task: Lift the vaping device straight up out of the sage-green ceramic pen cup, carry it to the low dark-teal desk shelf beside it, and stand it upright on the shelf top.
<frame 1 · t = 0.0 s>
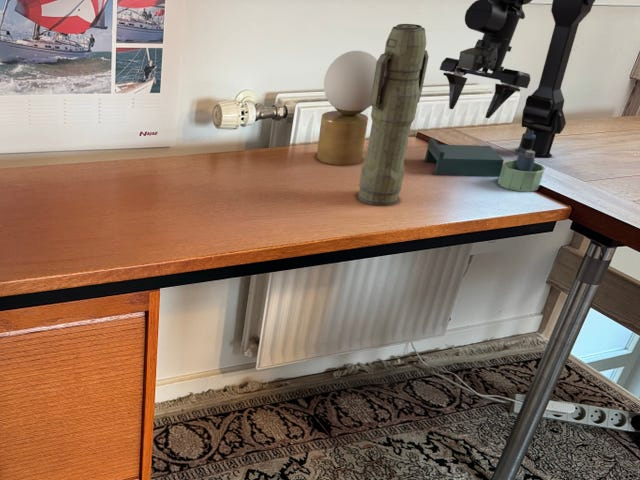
hand: (468, 113, 155), 15 cm above the table, tool pointing down, fingers open, 9 cm apart
vaping device: (517, 185, 161), resting in pen cup
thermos: (377, 199, 155), on the table
pen cup: (518, 184, 161), on the table
lamp: (341, 157, 179), on the table
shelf: (461, 168, 171), on the table
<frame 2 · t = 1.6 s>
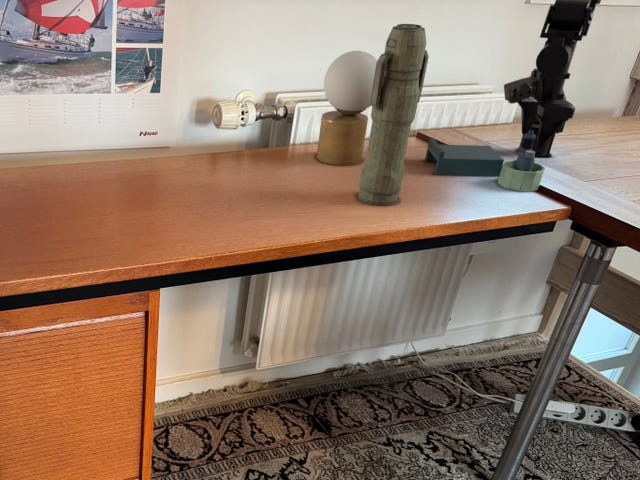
hand: (531, 140, 156), 10 cm above the table, tool pointing down, fingers open, 9 cm apart
nothing on the table moved.
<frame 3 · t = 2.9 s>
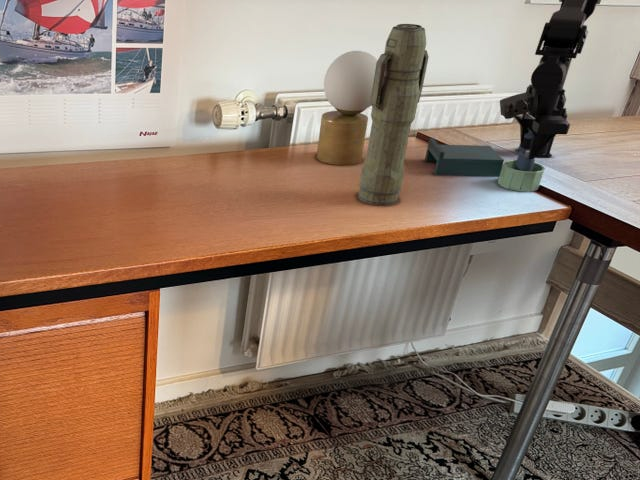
hand: (527, 154, 157), 7 cm above the table, tool pointing down, fingers closed on vaping device, 5 cm apart
vaping device: (517, 185, 161), resting in pen cup, touching gripper
everything else where it was.
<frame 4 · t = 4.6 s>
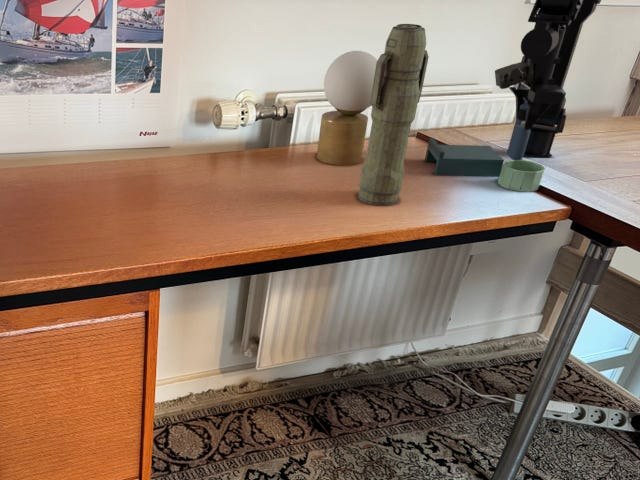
hand: (522, 125, 156), 13 cm above the table, tool pointing down, fingers closed on vaping device, 5 cm apart
vaping device: (513, 157, 160), point 6 cm above the table, touching gripper
everything else where it was.
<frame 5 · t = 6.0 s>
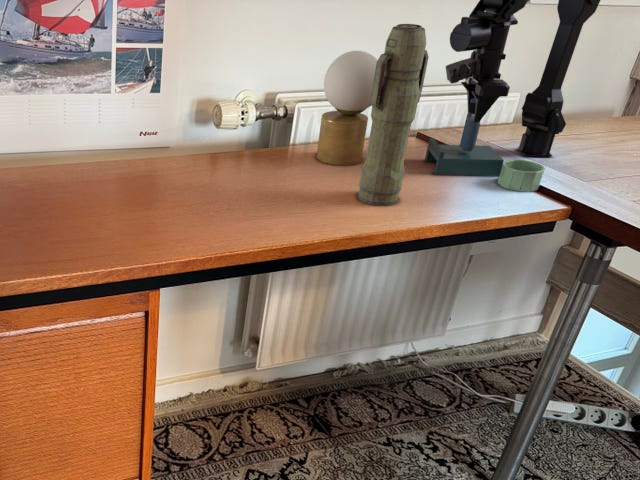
hand: (473, 118, 164), 12 cm above the table, tool pointing down, fingers closed on vaping device, 5 cm apart
vaping device: (466, 149, 168), point 5 cm above the table, touching gripper
everything else where it was.
when the fingers open (11 cm above the table, at t = 6.7 s): vaping device stays where it is, resting on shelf.
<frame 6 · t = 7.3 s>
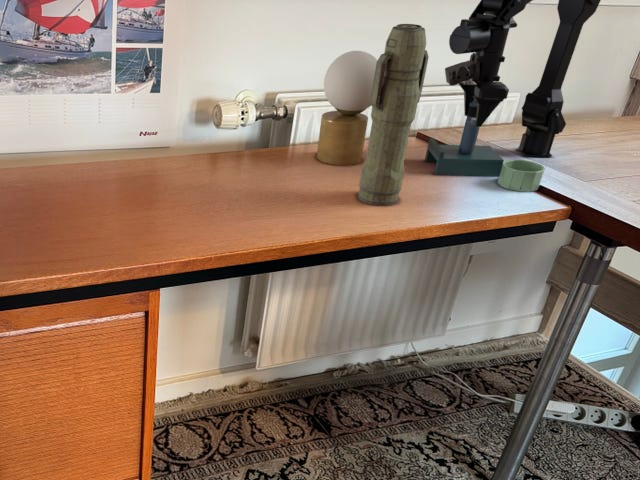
hand: (472, 121, 165), 11 cm above the table, tool pointing down, fingers open, 9 cm apart
vaping device: (465, 152, 169), point 4 cm above the table, touching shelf
everything else where it was.
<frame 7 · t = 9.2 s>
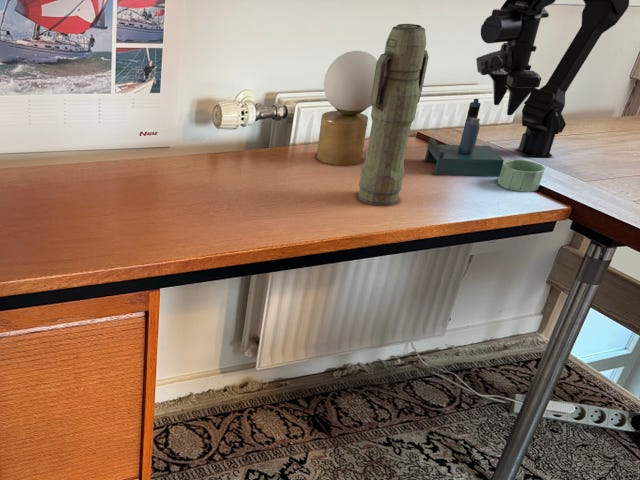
hand: (502, 109, 168), 13 cm above the table, tool pointing down, fingers open, 9 cm apart
nothing on the table moved.
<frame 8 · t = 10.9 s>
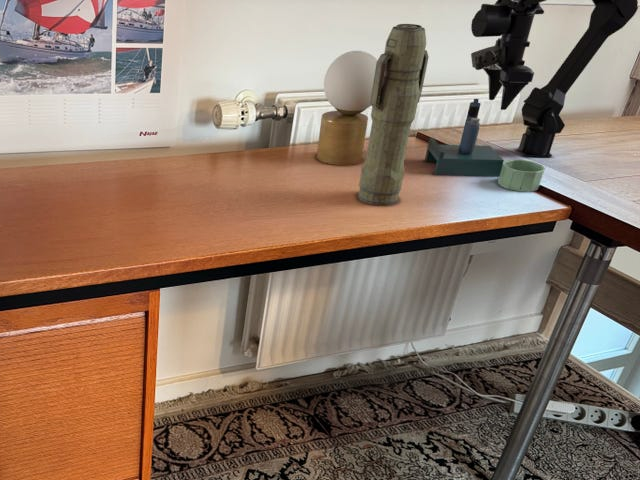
hand: (497, 104, 171), 13 cm above the table, tool pointing down, fingers open, 9 cm apart
nothing on the table moved.
at the end: vaping device inside the target area on the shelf (0.1 cm from its centre), point 3.8 cm above the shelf's base; vaping device tilted 0°; the gripper is holding nothing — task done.
